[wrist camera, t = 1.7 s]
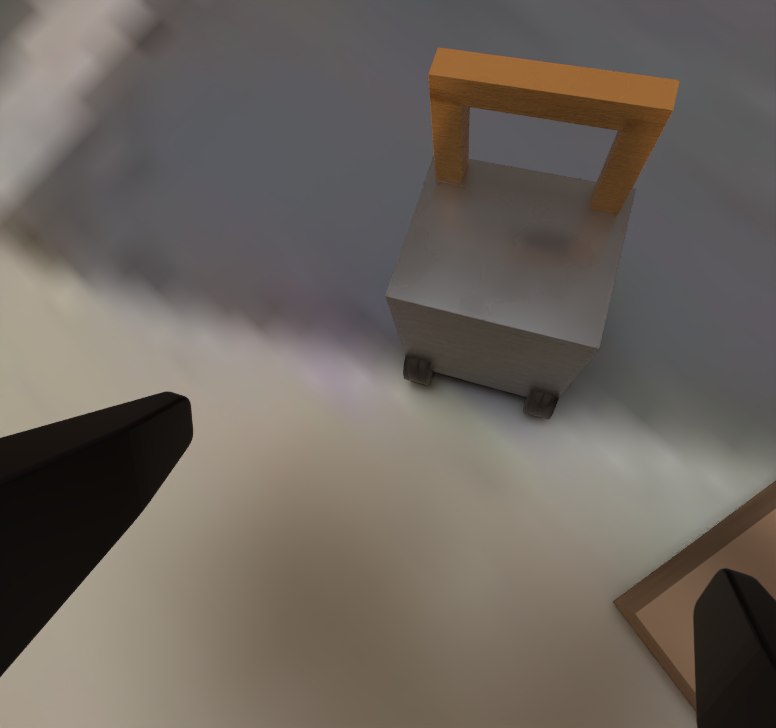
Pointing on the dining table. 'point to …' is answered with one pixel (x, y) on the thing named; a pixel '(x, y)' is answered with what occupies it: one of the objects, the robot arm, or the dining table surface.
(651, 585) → the dock
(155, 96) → the dining table surface
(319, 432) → the dining table surface
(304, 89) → the dining table surface
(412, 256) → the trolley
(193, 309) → the dining table surface
